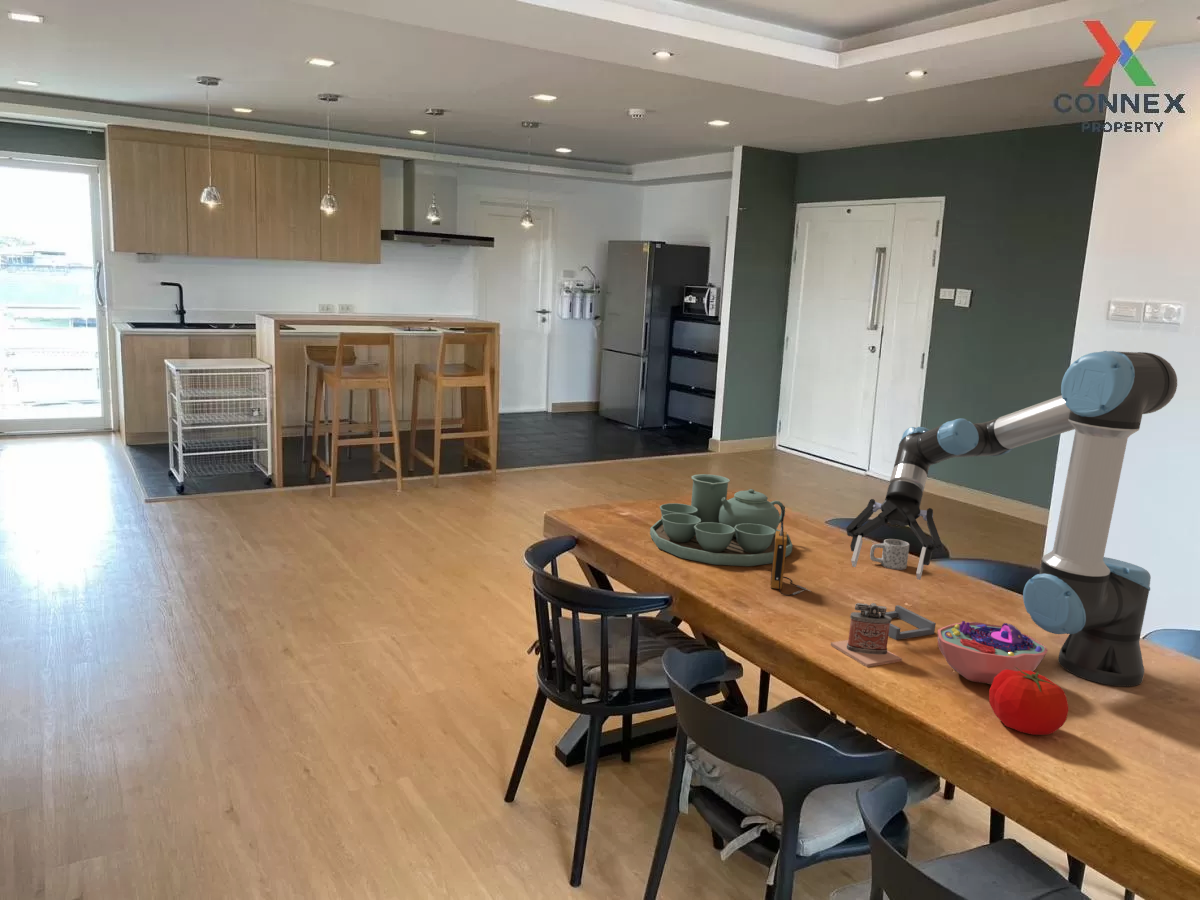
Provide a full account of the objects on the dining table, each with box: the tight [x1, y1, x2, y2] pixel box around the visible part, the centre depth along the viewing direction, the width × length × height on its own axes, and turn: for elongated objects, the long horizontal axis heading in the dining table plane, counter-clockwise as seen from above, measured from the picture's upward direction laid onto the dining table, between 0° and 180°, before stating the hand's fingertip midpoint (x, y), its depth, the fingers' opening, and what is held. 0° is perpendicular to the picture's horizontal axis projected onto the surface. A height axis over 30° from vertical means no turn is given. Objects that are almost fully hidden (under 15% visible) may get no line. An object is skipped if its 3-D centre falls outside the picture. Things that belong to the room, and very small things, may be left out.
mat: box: [830, 639, 903, 668], centre depth 181 cm, size 11×9×1 cm
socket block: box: [865, 604, 937, 641], centre depth 196 cm, size 11×11×2 cm
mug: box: [869, 538, 910, 571], centre depth 240 cm, size 10×7×7 cm, turn 84°
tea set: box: [649, 473, 794, 567], centre depth 249 cm, size 40×40×16 cm
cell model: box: [937, 620, 1048, 685], centre depth 171 cm, size 17×20×11 cm
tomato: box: [988, 666, 1069, 736], centre depth 152 cm, size 11×13×10 cm
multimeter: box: [770, 504, 812, 597], centre depth 217 cm, size 15×10×20 cm
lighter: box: [847, 602, 892, 655], centre depth 180 cm, size 8×3×10 cm, turn 83°
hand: (885, 570), depth 189 cm, fingers open, 13 cm apart
